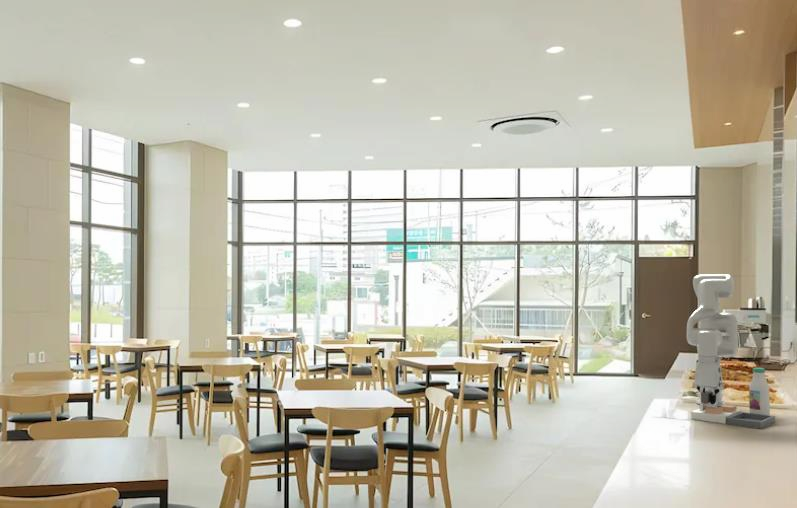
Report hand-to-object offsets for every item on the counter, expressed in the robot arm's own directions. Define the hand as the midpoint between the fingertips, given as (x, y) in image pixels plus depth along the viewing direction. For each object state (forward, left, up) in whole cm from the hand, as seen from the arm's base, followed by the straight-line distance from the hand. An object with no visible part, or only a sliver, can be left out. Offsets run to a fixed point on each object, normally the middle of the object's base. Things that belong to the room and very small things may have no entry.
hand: (708, 403), depth 303 cm
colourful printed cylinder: (-19, +14, -6) cm, 24 cm away
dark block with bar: (0, 0, -2) cm, 2 cm away
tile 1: (+4, +4, -3) cm, 6 cm away
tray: (0, +17, -6) cm, 18 cm away
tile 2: (-4, +6, -3) cm, 8 cm away
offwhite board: (0, +3, -6) cm, 7 cm away
